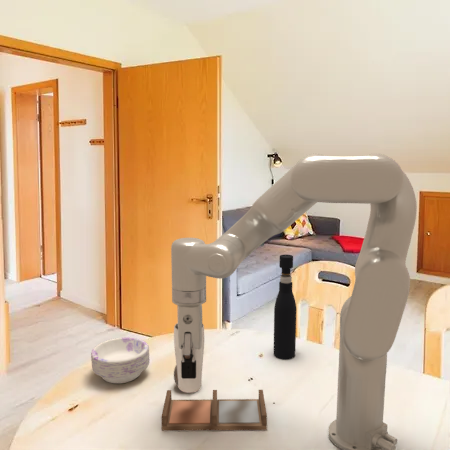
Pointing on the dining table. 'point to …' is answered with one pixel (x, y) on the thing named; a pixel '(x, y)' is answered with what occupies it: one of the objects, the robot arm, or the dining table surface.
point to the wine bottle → (285, 313)
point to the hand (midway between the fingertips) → (189, 369)
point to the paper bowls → (120, 359)
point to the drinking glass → (196, 383)
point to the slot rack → (214, 414)
